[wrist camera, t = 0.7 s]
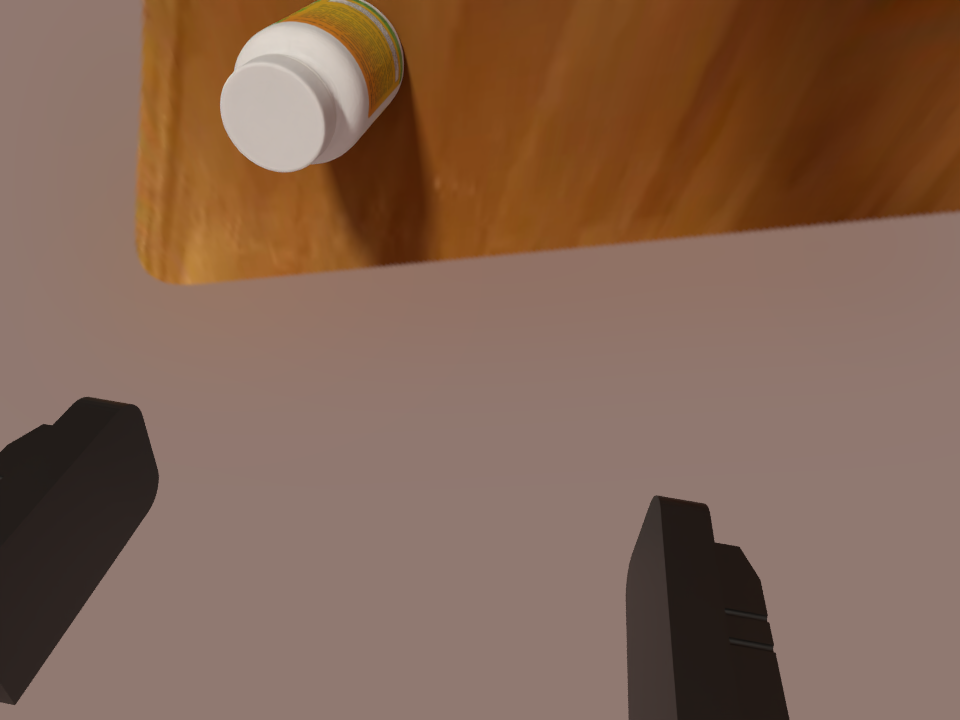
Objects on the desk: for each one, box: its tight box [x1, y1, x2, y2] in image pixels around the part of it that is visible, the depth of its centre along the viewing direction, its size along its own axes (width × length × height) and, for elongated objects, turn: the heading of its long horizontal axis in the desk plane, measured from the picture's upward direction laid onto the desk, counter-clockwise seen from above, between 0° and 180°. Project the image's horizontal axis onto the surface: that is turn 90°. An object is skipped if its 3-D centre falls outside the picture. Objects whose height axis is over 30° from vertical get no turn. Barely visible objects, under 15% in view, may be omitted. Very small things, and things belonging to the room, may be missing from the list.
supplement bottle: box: [220, 0, 404, 172], centre depth 29 cm, size 5×5×10 cm
